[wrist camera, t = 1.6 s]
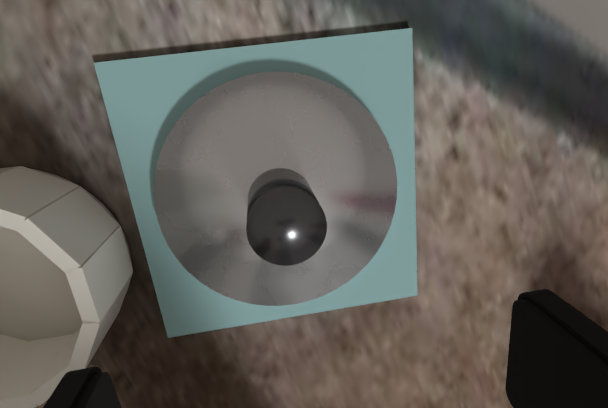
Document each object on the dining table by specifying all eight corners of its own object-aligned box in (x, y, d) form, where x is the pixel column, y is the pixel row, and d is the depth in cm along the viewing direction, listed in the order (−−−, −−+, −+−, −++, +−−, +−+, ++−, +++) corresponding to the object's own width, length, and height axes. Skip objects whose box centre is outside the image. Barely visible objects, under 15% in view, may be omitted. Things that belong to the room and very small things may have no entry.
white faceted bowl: (151, 324, 26) (122, 391, 21) (-33, 355, 25) (-116, 434, 20) (103, 154, 22) (52, 178, 17) (-116, 182, 22) (-248, 218, 16)
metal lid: (397, 280, 27) (433, 329, 22) (185, 316, 26) (167, 378, 20) (388, 57, 23) (431, 49, 17) (128, 88, 21) (85, 89, 16)
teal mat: (415, 292, 28) (417, 295, 28) (169, 334, 27) (167, 337, 26) (409, 28, 23) (412, 27, 22) (96, 63, 21) (93, 62, 21)
